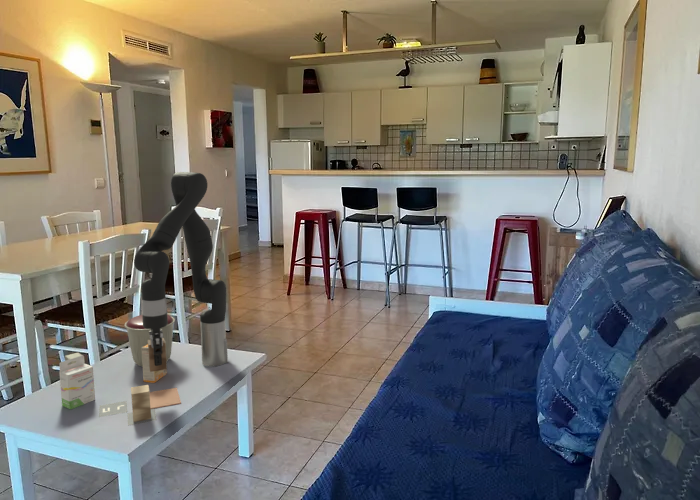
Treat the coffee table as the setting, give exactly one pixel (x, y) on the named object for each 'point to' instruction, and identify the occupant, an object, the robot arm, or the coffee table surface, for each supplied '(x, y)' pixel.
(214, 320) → the robot arm
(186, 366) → the coffee table surface
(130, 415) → the code tile
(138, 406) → the oak block
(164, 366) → the walnut block
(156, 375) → the supplement box
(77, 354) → the skincare box
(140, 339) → the canister
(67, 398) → the ink box
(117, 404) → the code tile
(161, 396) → the coaster
